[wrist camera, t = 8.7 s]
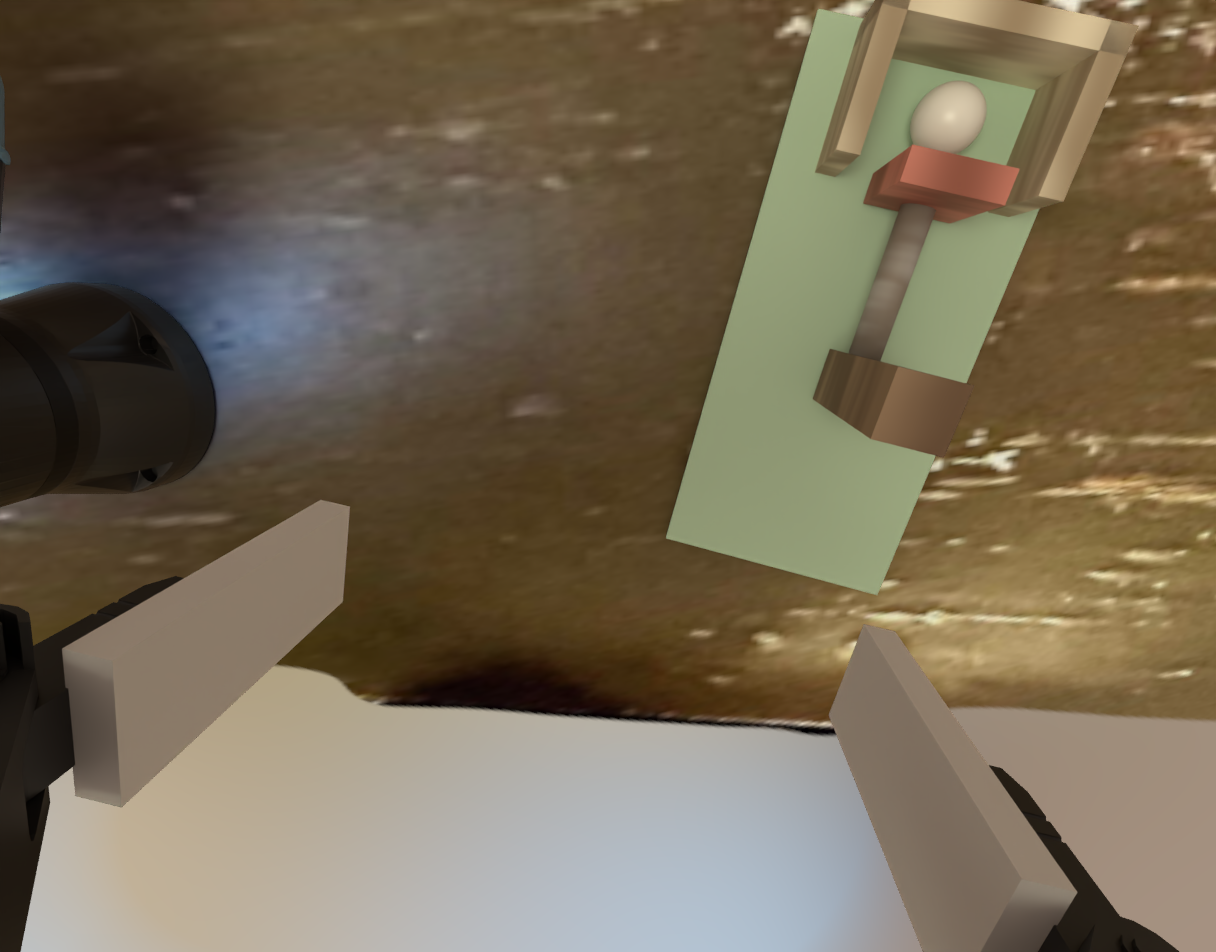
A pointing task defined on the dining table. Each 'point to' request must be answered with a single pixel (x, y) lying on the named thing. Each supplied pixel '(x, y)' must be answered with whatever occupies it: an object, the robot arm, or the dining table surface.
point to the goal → (999, 51)
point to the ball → (949, 117)
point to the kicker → (858, 380)
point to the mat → (838, 333)
